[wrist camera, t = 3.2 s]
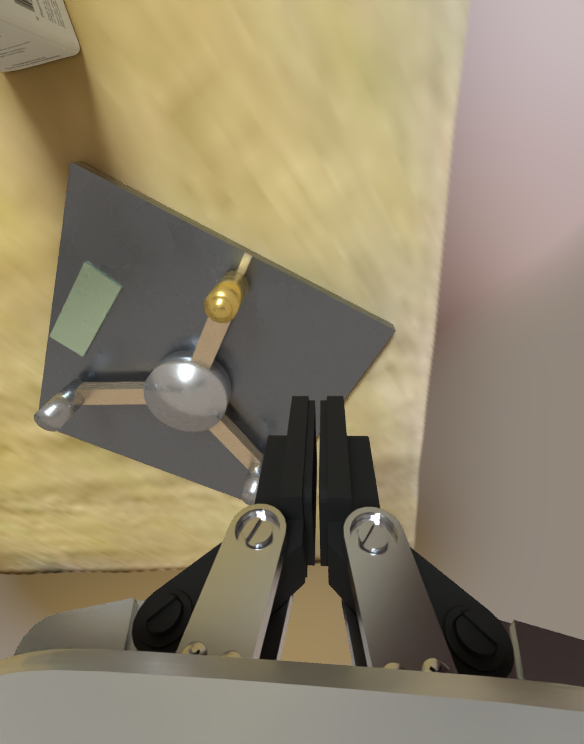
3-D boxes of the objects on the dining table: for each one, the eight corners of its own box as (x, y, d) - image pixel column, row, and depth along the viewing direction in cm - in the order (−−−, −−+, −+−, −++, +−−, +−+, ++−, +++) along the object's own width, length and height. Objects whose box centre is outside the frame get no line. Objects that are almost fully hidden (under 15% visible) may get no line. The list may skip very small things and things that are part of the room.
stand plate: (265, 499, 35) (264, 509, 34) (44, 416, 31) (35, 425, 30) (392, 324, 25) (396, 331, 24) (81, 161, 20) (68, 161, 19)
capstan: (266, 467, 31) (258, 513, 27) (70, 390, 28) (28, 428, 24) (358, 330, 24) (367, 365, 20) (105, 202, 20) (53, 212, 16)
